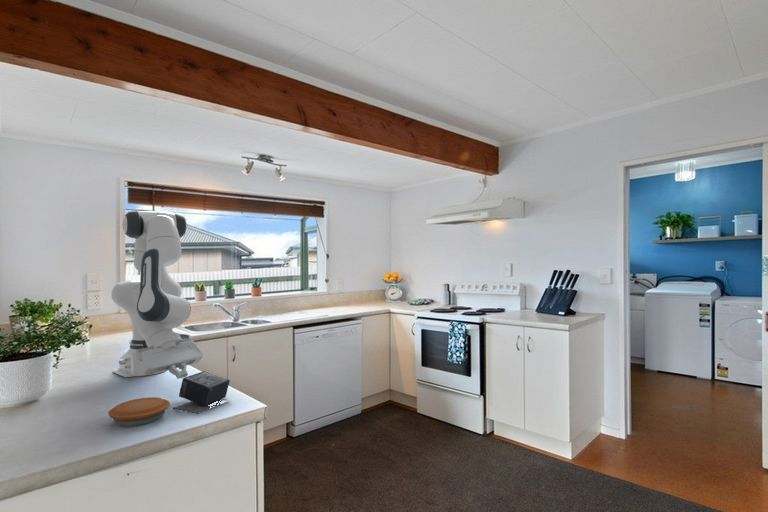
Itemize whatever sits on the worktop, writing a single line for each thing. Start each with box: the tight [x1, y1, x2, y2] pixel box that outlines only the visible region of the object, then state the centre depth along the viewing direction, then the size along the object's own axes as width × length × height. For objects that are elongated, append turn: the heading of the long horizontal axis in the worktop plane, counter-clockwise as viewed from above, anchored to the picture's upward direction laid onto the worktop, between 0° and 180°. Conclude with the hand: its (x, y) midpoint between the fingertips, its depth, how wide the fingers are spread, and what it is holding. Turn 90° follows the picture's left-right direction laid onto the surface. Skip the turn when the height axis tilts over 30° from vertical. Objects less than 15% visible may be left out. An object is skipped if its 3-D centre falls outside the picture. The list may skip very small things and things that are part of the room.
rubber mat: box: [172, 399, 223, 415], centre depth 130 cm, size 11×12×1 cm
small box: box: [178, 370, 231, 406], centre depth 133 cm, size 11×6×10 cm
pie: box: [107, 397, 171, 428], centre depth 118 cm, size 16×16×5 cm
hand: (183, 376), depth 134 cm, fingers closed
